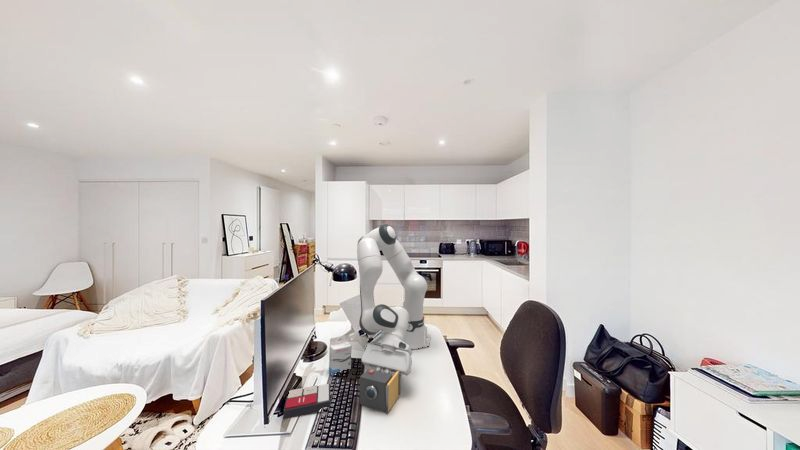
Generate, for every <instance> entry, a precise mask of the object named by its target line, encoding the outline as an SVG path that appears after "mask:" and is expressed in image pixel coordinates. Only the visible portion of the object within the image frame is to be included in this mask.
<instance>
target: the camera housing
mask: <svg viewBox="0 0 800 450" xmlns="http://www.w3.org/2000/svg"><path fill="white" fill-rule="evenodd" d="M392 377H393V374H392V373H390V374H388V373H386V372H383V371H382V372H380V371H377V370H375V369H371V368H367V369H366V370H365V371H364V372H363V373H362V374H361V375H360V377H359V405H360V404H361V407H364V408H369V409H372V410H374V411H378V412H381V413H385V404H386V385H387V384H388V382H389V381H390V380H391V378H392Z"/></svg>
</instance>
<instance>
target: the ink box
mask: <svg viewBox="0 0 800 450" xmlns="http://www.w3.org/2000/svg"><path fill="white" fill-rule="evenodd" d="M339 339H340V340H339ZM328 356H329V359H328V360H329V361H328V373H329V374H330V373H332V374H334V373H337V372H340V371H343V370H347V369H352V344H351V343H350V342H349V341H348V334H347V335H340V336H335V337H331V338H330V339H329V355H328Z"/></svg>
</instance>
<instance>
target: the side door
mask: <svg viewBox="0 0 800 450" xmlns="http://www.w3.org/2000/svg"><path fill="white" fill-rule="evenodd" d="M401 380H402V374H401V373H400V372H399V371H397V372H396V373H395V372H394V374H393V375H392V378H391V380H390V381H389V382H388V384H387V385H386V404H385V412H384V413H385V414H389V412H390V410H391V409H392V407H393V405H394V404H395V402H396V401H397V399H398V398H399V396H401V387H402V386H401V385H402V384H401V383H402V381H401Z"/></svg>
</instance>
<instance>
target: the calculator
mask: <svg viewBox="0 0 800 450" xmlns="http://www.w3.org/2000/svg"><path fill="white" fill-rule="evenodd" d="M288 392H289V394H288V393H287V394H288V396H287V395H286V399H285V403H284V408H283V419H291V418H296V417H302V416H303V417H304V416H306V415H312V414H319V413H318V411H319V410H320V409H321V408H323V407H330V403H331V384H330V383H325V384H320V385H312V386H307V387H301V388H296V389H291V390H289V391H288Z"/></svg>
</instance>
